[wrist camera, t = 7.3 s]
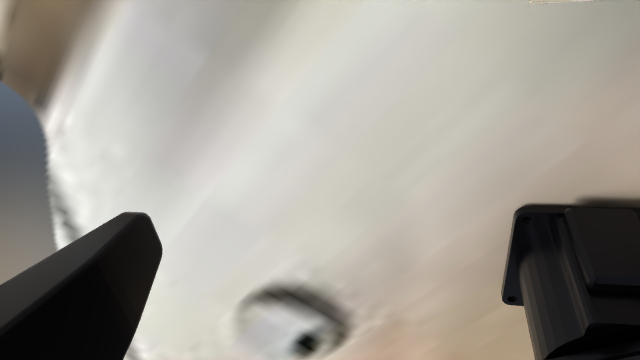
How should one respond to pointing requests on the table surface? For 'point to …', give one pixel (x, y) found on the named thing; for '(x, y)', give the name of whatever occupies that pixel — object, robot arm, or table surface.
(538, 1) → the maple beam block
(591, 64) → the table surface
